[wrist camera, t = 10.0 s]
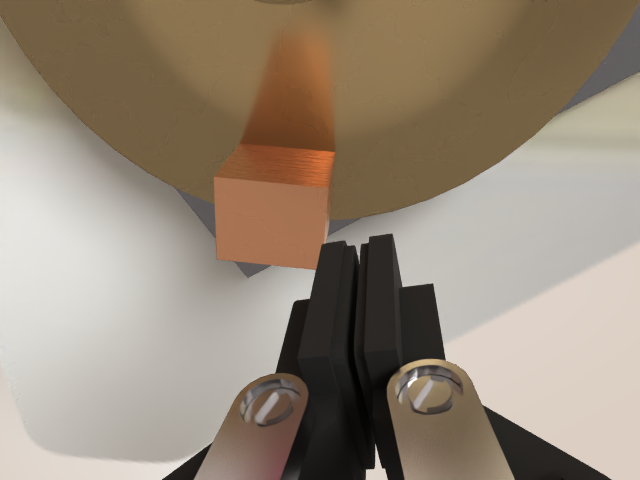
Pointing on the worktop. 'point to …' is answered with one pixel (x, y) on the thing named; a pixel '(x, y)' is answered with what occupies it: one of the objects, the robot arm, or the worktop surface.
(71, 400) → the worktop surface
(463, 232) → the worktop surface
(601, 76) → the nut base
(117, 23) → the brass lugged disc
